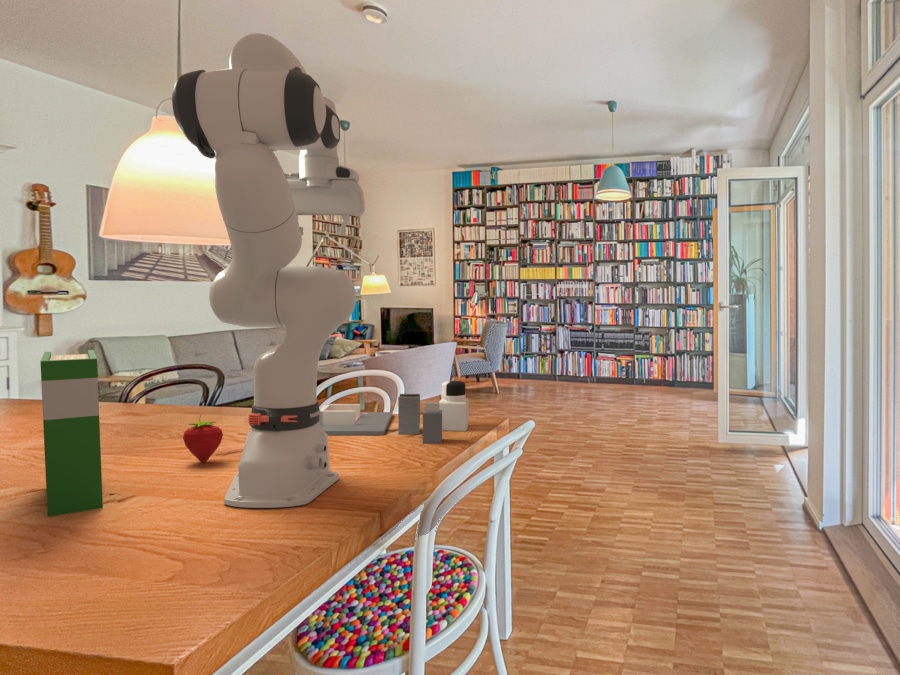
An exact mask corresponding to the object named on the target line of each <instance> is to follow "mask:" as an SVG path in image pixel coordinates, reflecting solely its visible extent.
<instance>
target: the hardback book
mask: <svg viewBox="0 0 900 675" xmlns="http://www.w3.org/2000/svg"><path fill="white" fill-rule="evenodd" d="M39 363H40V384H41V400H42V401H41V402H42V424H43V445H44V447H43V448H44V449H43V450H44V465H45V466H44V468H45V488H46V492H45V493H46V509H47V511H46V514H47V517H57V516H62V515H69V514H74V513H80V512H82V513H83V512H86V511H88V512H89V511H93V510H94V511H95V510H99V509H103V508H104V505H103V504H104V501H103V479H102V477H103V476H102V474H103V473H102V456H101V455H102V454H101V452H102V450H101V429H100V428H101V427H100V426H101V424H100V405H99V404H100V403H99V378H98V357H97V355H96V353H95V350H94V349H88V350H87V353H83V354H82V353H81V354H59V355H57V354H55V355H52V351H44V353H43V354H42V357H41V359H40V362H39Z"/></svg>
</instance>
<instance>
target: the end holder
mask: <svg viewBox="0 0 900 675" xmlns="http://www.w3.org/2000/svg"><path fill="white" fill-rule="evenodd" d="M363 413H368V414H363ZM319 417H320V420H319V422H318V424H319V426H320V427H321V429H322V430H323V431H324V432H326V433H327V435H328V436H384V435H385V433H386V431H387V429H388V427H387V426H389V424H390V423H391V422H390V421H391V420H392V418H393V412H392V411H361V403H360V404H359V403H326V404H324V405H323V407H321V408H320V414H319ZM386 428H387V429H386Z"/></svg>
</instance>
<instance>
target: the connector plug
mask: <svg viewBox="0 0 900 675" xmlns="http://www.w3.org/2000/svg"><path fill="white" fill-rule="evenodd" d="M422 444H423V445H424V444H426V445H428V444H429V445H430V444H433V445H434V444H435V445H436V444H437V445H438V444H443V431H442V410H440V402H439V401H425V409H423V410H422Z"/></svg>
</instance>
